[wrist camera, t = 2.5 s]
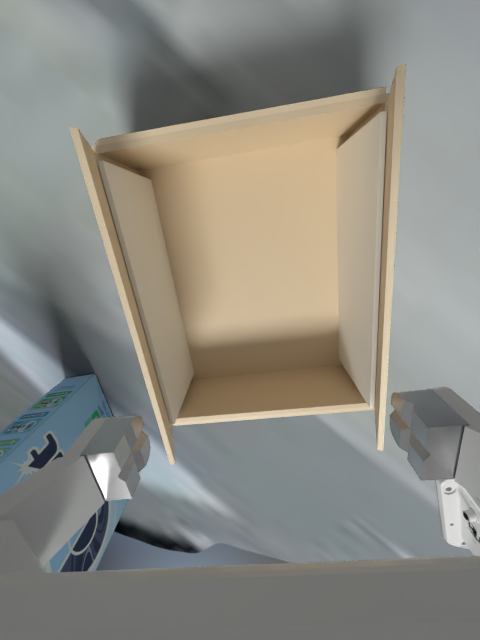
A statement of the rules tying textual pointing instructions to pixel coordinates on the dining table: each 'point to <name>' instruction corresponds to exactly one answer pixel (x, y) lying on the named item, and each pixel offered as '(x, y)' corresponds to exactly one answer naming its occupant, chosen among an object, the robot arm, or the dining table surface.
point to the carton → (256, 255)
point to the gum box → (53, 442)
